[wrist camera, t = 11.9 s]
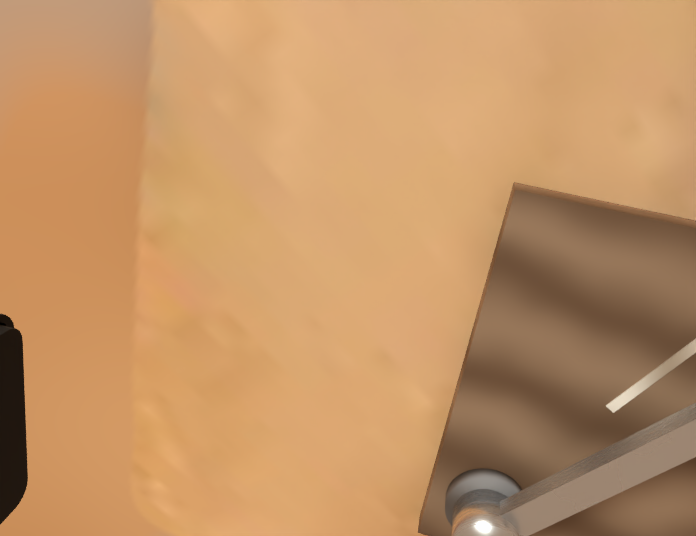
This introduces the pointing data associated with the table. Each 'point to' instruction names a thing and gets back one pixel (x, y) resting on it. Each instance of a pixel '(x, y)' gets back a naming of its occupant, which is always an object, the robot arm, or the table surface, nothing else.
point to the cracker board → (575, 361)
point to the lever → (580, 482)
